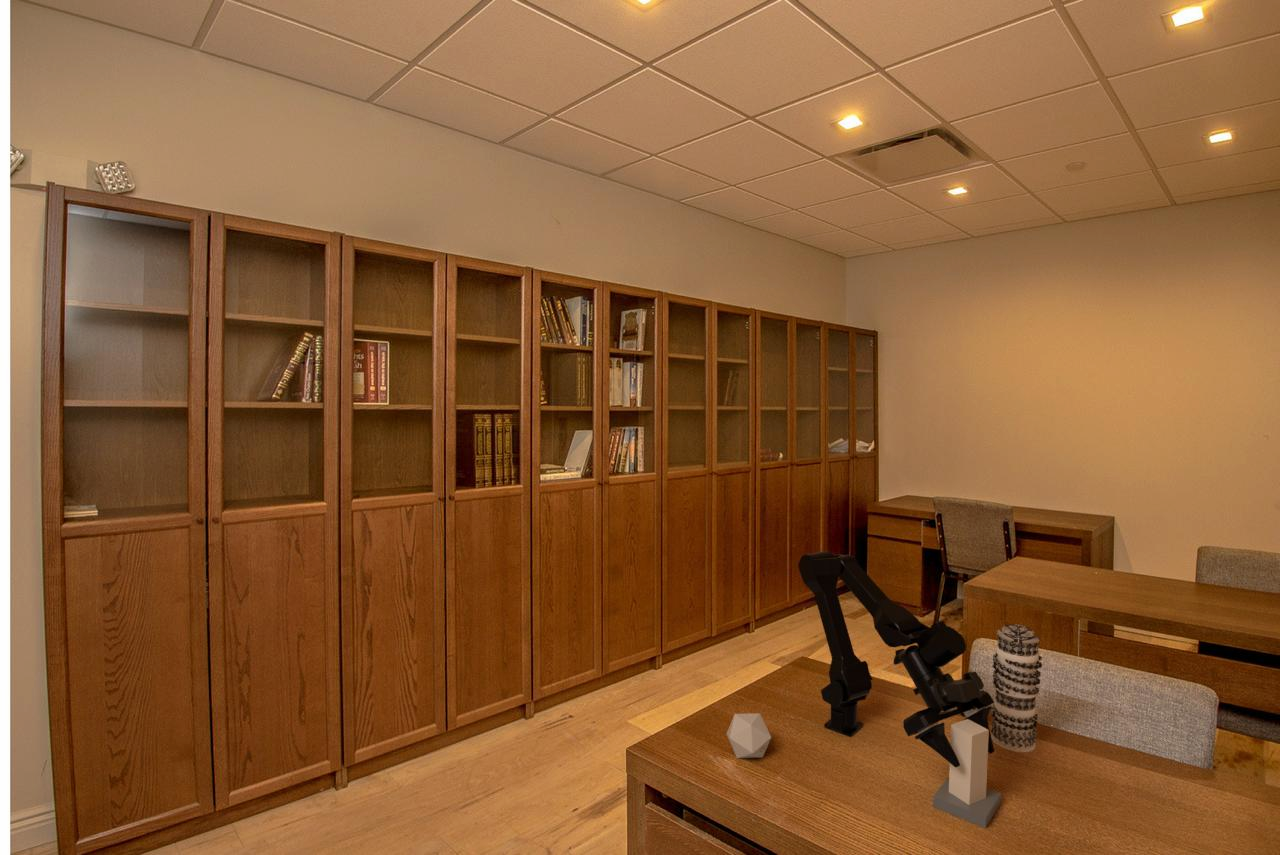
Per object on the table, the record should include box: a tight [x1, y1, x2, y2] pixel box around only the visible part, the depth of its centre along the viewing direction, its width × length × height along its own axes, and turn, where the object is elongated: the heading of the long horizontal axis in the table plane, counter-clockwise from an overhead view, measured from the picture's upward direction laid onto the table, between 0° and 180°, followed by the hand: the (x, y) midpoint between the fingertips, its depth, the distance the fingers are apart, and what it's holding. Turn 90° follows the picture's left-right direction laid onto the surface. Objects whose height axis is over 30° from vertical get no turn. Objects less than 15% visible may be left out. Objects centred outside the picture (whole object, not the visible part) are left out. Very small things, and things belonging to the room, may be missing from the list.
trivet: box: [932, 776, 1002, 829], centre depth 129 cm, size 9×9×2 cm
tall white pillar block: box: [948, 719, 990, 805], centre depth 129 cm, size 4×4×13 cm
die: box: [726, 712, 772, 759], centre depth 146 cm, size 8×9×10 cm
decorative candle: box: [990, 623, 1043, 753], centre depth 149 cm, size 9×9×25 cm
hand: (975, 759), depth 127 cm, fingers open, 9 cm apart
